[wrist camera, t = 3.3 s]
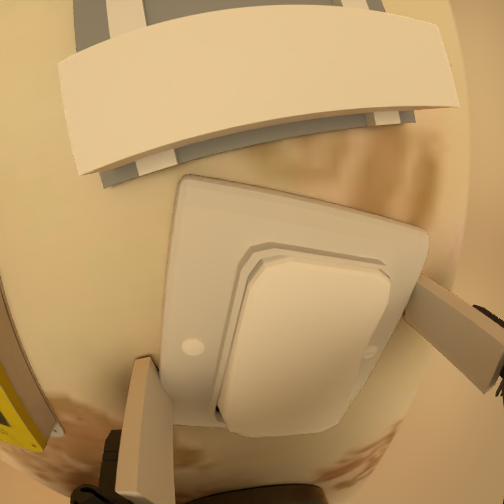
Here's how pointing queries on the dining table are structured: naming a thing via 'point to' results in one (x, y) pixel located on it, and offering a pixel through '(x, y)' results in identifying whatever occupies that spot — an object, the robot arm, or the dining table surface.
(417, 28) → the rail board
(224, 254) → the light switch
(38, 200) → the dining table surface
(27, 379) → the emergency button
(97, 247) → the dining table surface
